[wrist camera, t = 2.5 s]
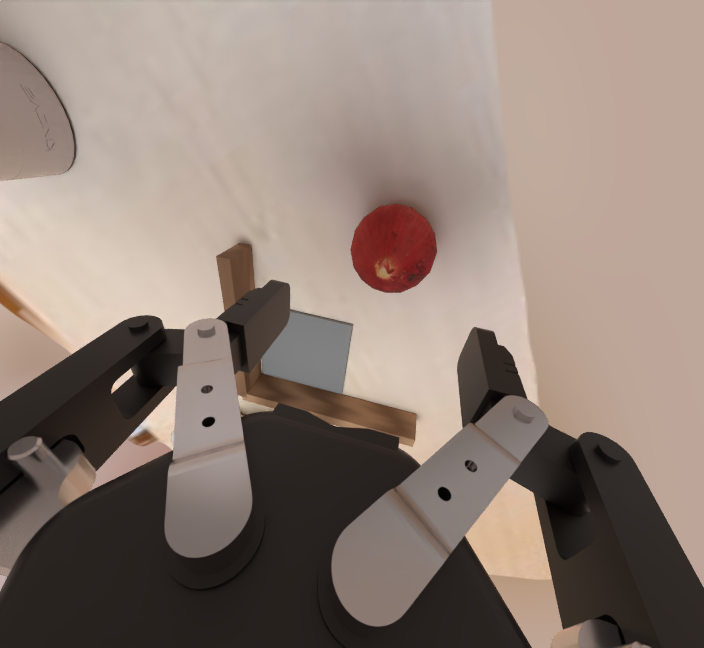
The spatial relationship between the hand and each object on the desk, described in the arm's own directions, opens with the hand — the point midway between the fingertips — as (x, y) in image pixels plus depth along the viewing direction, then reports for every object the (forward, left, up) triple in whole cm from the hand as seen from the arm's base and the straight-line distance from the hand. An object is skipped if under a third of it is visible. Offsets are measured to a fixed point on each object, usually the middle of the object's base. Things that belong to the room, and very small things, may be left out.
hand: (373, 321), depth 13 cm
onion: (0, 0, -13) cm, 13 cm away
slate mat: (-8, -14, -13) cm, 21 cm away
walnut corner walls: (-4, -12, -13) cm, 18 cm away
